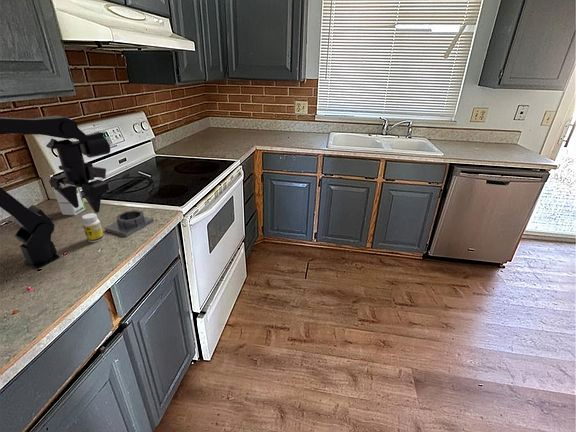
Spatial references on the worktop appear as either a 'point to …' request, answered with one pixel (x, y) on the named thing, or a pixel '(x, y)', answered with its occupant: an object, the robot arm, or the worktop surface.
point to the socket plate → (127, 230)
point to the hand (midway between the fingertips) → (86, 209)
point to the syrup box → (69, 208)
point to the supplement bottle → (92, 227)
